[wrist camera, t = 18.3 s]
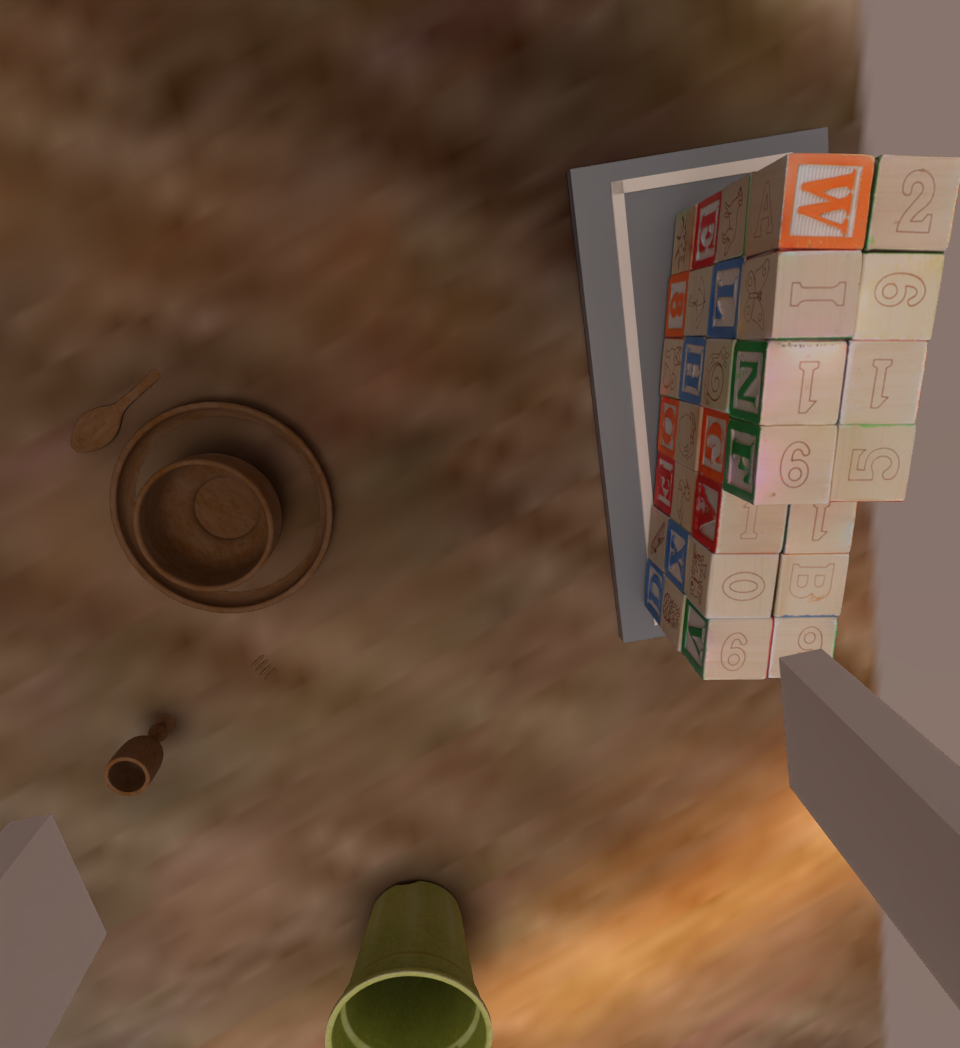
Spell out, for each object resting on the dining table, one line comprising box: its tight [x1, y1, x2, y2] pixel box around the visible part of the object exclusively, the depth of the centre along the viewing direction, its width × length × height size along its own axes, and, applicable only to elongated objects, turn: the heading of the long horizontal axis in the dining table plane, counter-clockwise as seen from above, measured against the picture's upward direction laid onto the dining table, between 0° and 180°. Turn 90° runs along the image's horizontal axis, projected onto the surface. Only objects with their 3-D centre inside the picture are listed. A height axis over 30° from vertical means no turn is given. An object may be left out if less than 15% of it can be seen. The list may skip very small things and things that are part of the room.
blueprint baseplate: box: [567, 127, 828, 643], centre depth 38 cm, size 26×13×1 cm, turn 9°
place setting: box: [71, 369, 333, 796], centre depth 37 cm, size 18×20×6 cm
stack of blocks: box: [644, 153, 960, 680], centre depth 32 cm, size 21×6×12 cm, turn 179°
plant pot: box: [325, 881, 493, 1048], centre depth 43 cm, size 9×9×9 cm
